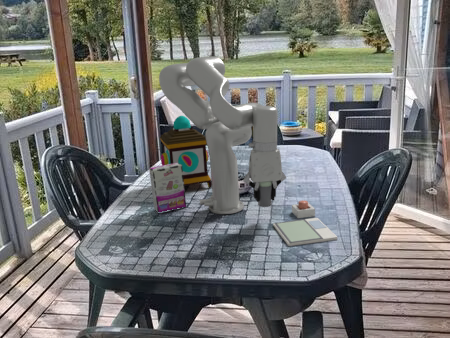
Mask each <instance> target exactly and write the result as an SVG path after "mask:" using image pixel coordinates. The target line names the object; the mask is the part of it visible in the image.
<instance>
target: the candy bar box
mask: <svg viewBox="0 0 450 338" xmlns="http://www.w3.org/2000/svg"><path fill="white" fill-rule="evenodd" d="M148 169H149V178H150V185H151V186H150V187H151V193H152V202H153V209H155V210H156V211H157V212H162V211H167V210H172V209H177V208H182V207H186V208H187V200H186V192H185V186H184V179H183V169H182V165H181V164H178V163H174V164H168V165H163V166H162V165H158V166H155V167H154V166H153V167H149V168H148ZM182 209H183V208H182ZM155 210H154V211H155ZM156 211H155V212H156ZM157 212H156V213H157Z"/></svg>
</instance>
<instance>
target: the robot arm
mask: <svg viewBox="0 0 450 338" xmlns="http://www.w3.org/2000/svg"><path fill="white" fill-rule="evenodd" d="M225 66H226V65H225V64H224V62H223V61H222V59H221V58H220V57H218V56H215V55H213V56H212V55H211V56H200V57H195V58H193V59H190V60H189V61H188V62H185V63H181V62H180V63H173V64H169V65H167V66H164V67H163V68H162V69H161V71H160V72H159V74H158V82H159V85H160V86H159V87H160V89H161V91H162V93H163V95H164V96H165V97H166V98H167V100H169V101H170V103H171V104H173V105H174V106H175V107H177V108H178V109H179V110H180V111H181V113H182V114H183V115H185V117H186V118H187V119H188V120H189V121H190V122H191V123H192V124H193V125H195V127H196V128H198V129H200V130H206V131H205V135H204V136H205V138H206V143H207V144H206V147H207V149H208V150H207V151H208V157H209V165H210V167H209V168H210V179H211V182H212V186H211V191H212V194H211V195H210V197H209V198H207V199H206V198H205V199H204V198H203V199H199V205H200V206H203V205H204V207H208V210H209V211H210V212H211V213H213V214H217V215H230V214H231V215H232V214H235V213H239V212H240V211H242V210H243V209H244V208H245V204H244V203H243V201H241V200H240V190H239V189H240V188H239V187H240V186H239V185H240V184H239V170H238V167H239V166H238V159H237V156H236V154H235V152H234V150H233V147H236V146H240V145H243V144H246V143H247V142H248V141H249V140H250V139H252V141H251V142H250V143H248V148H251V150H250V154H249V155H250V156H249V161H248V171H247V173H246V175H244V178H243V179H242V180H243V182H244V183H245V184H246V185H249V186H250V188H252V189H253V199H255V201H256V202H257V203H258V202H259V201H260V191H259V188H258V187H259V183H260V182H270V181H272V196H271V201H275V198H276V196H277V189H278V186H280V184H281V183H282V182H283V181H285V180H286V179H287V176H286V174H285V173H284V171H283V168H282V167H283V166H282V157H281V156H282V155H281V152H280V149H279V148H278V110H277V108H276V107H274V106H269V105H263V104H259V103H257V102H248V103H242V104H238V105H237V104H236V105H232V104H231V103H230V102H229V101H227V99H226V98H225V96H226V95H227V93H228V92H229V90H230V86H231V85H230V82H229V79H228V78H227V77H225V73H226V67H225ZM191 86H197V87H198V88H199V89H200V90H201V91H202V92H203V93H204V94H205V95H206V96H207V97H208V98H209V100H205V99H203V98H202V97H201V96H200V95H199V93H197V92H196V91H194V90H192V89H190V88H189V87H191ZM251 137H252V138H251Z"/></svg>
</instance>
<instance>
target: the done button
mask: <svg viewBox="0 0 450 338" xmlns="http://www.w3.org/2000/svg"><path fill="white" fill-rule="evenodd" d="M308 203H309V202H308V200H299V201H298V203H297V204H299V209H300V210H301V209H308Z"/></svg>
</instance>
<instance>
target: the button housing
mask: <svg viewBox="0 0 450 338" xmlns="http://www.w3.org/2000/svg"><path fill="white" fill-rule="evenodd" d="M291 213H292V214H293V215H294V216H295V217H296V218H297V219H302V218H303V219H305V218H313V217H316V208H315V207H314V206H313V205H312V204H310V203H309V202H308V209H301V210H300V209H299V204H298V203H297V204H291Z"/></svg>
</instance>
